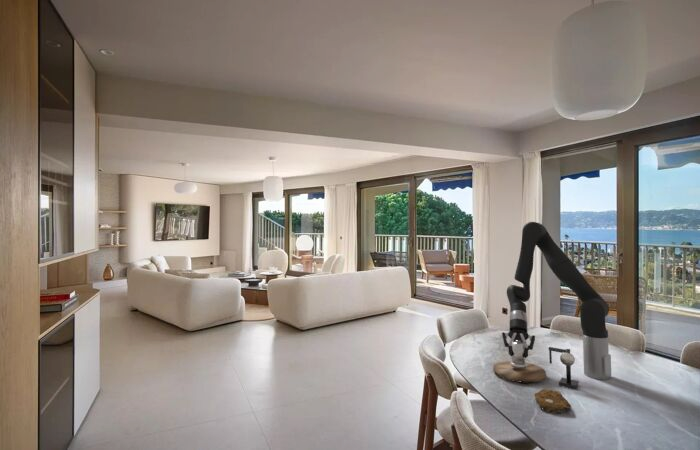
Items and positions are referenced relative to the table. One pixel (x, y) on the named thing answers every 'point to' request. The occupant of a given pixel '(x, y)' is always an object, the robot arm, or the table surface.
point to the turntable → (519, 372)
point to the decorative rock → (552, 401)
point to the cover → (518, 354)
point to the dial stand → (568, 361)
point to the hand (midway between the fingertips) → (518, 356)
